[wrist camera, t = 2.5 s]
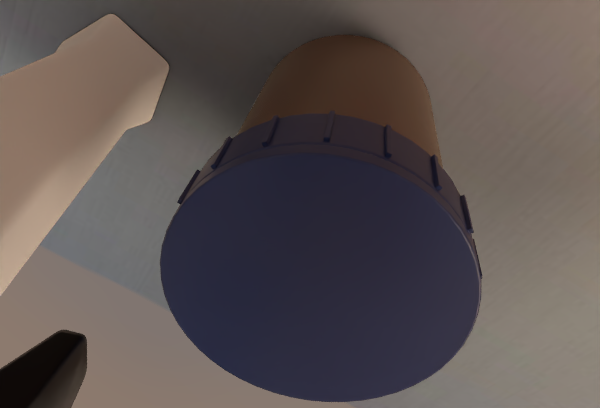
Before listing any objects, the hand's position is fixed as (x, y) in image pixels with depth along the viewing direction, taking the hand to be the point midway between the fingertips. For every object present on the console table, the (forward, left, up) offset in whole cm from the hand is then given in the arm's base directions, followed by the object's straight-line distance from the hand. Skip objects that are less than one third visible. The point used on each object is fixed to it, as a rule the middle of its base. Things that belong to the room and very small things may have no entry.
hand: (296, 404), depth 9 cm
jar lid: (0, 0, -3) cm, 3 cm away
